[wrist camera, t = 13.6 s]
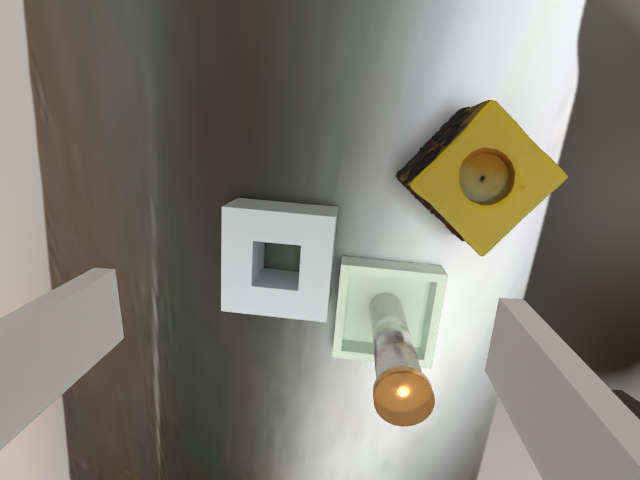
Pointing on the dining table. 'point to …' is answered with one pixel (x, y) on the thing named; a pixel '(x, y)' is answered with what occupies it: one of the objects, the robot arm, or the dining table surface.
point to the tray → (395, 278)
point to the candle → (481, 175)
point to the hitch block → (272, 284)
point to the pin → (397, 366)
